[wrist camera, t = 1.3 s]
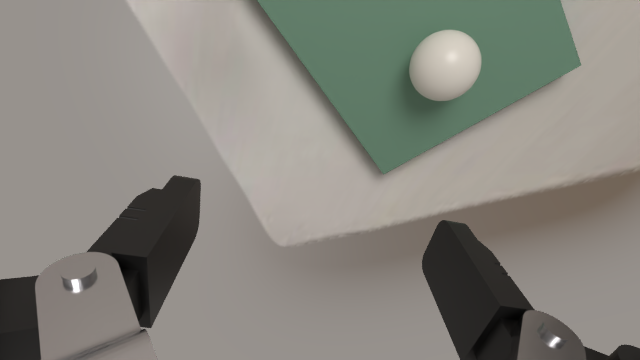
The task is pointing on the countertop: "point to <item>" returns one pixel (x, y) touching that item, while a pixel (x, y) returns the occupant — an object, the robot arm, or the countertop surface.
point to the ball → (445, 65)
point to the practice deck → (395, 54)
